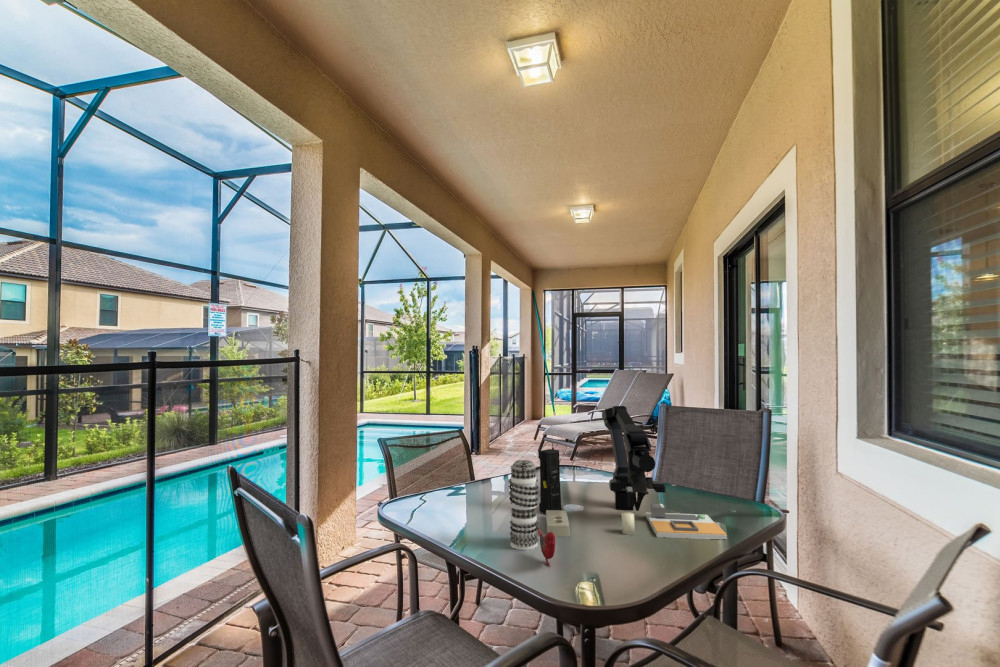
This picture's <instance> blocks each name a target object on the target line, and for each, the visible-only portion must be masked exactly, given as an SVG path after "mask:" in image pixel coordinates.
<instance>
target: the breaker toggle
mask: <svg viewBox="0 0 1000 667" xmlns="http://www.w3.org/2000/svg"><path fill="white" fill-rule="evenodd" d="M650 513H651V514H652V516H653V517H665V513H666V508H665V506H664V504H663V503H651V504H650Z"/></svg>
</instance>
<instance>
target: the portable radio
mask: <svg viewBox="0 0 1000 667" xmlns="http://www.w3.org/2000/svg"><path fill="white" fill-rule="evenodd" d="M551 444H552V445H551V446H552V447H551V448H549V449H543V450H538V453H537V455H538V457H537V458H538V459H539V484H540V486H539V488H540V489H539V490H540V491H539V492H540V494H539V495H540V496H539V498H540V499H539V500H540V502H539V503H538V511H539V512H540V513H542V512H543V514H544V513H546V510H561V511H563V509H562V508H563V507H562V496H561V495H562V493H561V476H560V475H561V473H560V472H561V468H560V467H561V466H560V465H561V464H560V450H559V449H555V447H554V443H551Z"/></svg>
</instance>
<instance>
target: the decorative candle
mask: <svg viewBox="0 0 1000 667" xmlns="http://www.w3.org/2000/svg"><path fill="white" fill-rule="evenodd" d="M536 468H538V467H537V465H535V464H534V462H533V461H531V460H529V459H527V460H526V459H520V460H515V461H514V462H513V464H512V465H510V469H511V470H510V473H511V474H510V478H509V480H508V483H509V485H508V489H509V493H508V494H509V497H508V498H509V501H510V503H509V507H511V514H510V521H509V524H510V526H509V528H510V530H511V531H510V532H509V535H510V538H509V540H510V544H509V545H510V547H511V548H513V549H515V550H518V551H519V550H520V551H530V550H534V549H536V548H537V547H538V545H539V542H538V541H539V539H538V536H539V532H538V528H539V527H538V524H539V521H538V520H537V519H538V518H537V517H538V516H537V507H538V506H539V503H538V500H539V498H538V497H537V495H538V494H539V491H538V489H539V485H537V484H536V483H537V482H538V481H539V480H538V479H537V476H536ZM535 547H536V548H535Z"/></svg>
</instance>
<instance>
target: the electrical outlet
mask: <svg viewBox="0 0 1000 667" xmlns="http://www.w3.org/2000/svg"><path fill="white" fill-rule="evenodd" d="M545 522H546V524H547V525H546V534H547V533H549V532H552V533H553V534H554V536H570V522H569V517H568V514H567V510H562V511H561V510H546V514H545Z"/></svg>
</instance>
